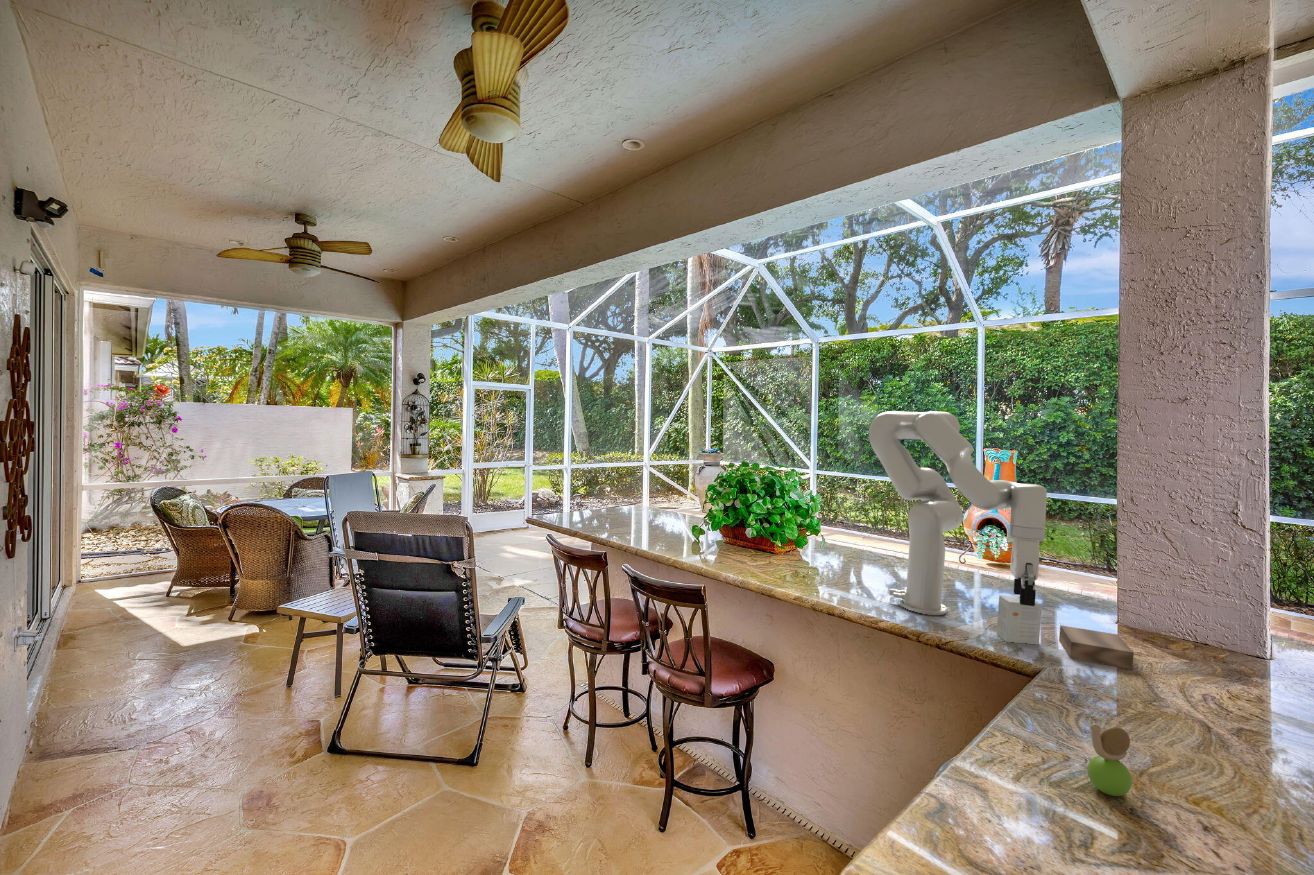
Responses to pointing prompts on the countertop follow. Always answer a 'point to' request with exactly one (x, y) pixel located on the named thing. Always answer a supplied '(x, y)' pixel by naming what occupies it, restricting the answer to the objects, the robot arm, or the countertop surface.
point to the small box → (1018, 620)
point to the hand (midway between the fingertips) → (1023, 599)
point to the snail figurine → (1109, 760)
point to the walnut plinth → (1096, 647)
